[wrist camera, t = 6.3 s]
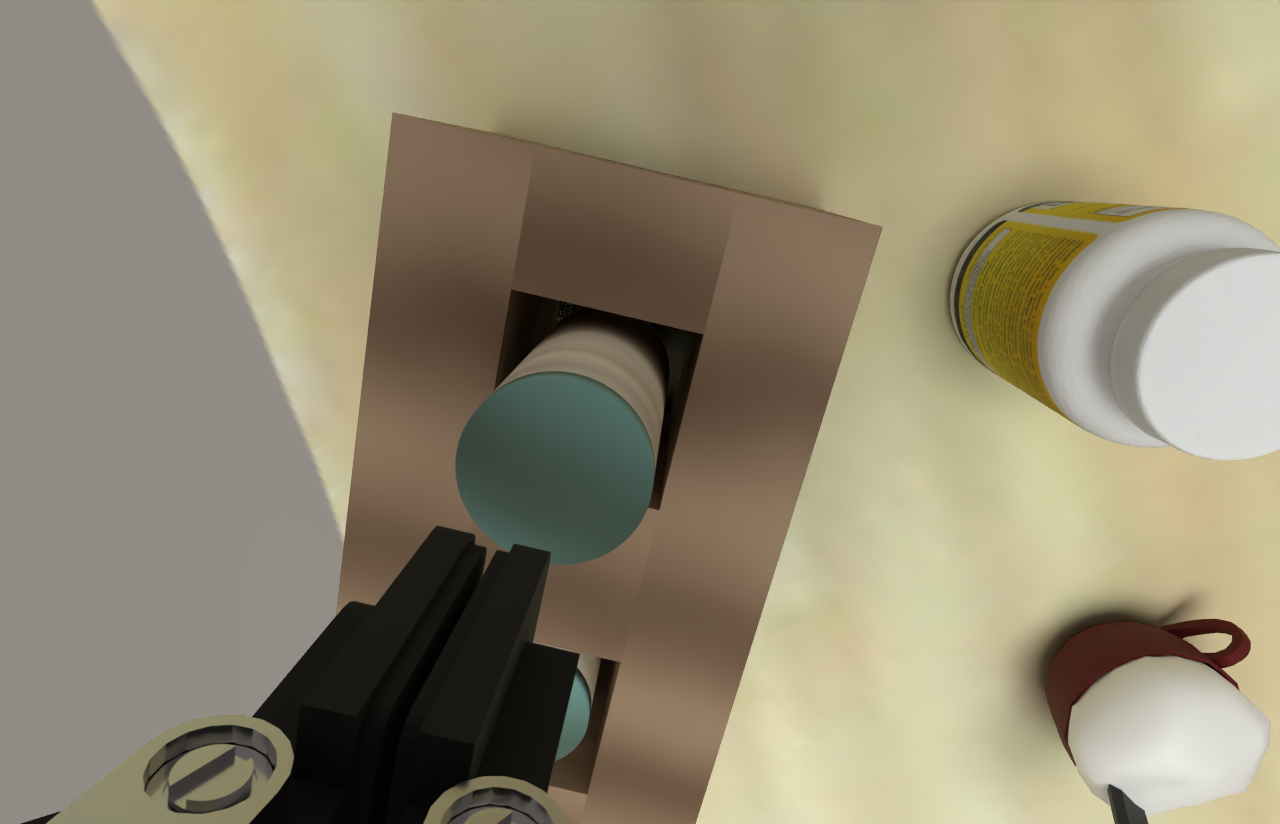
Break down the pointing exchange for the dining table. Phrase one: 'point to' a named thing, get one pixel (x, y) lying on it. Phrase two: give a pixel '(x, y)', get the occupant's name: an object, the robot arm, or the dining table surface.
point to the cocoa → (1155, 716)
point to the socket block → (690, 435)
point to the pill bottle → (1131, 322)
